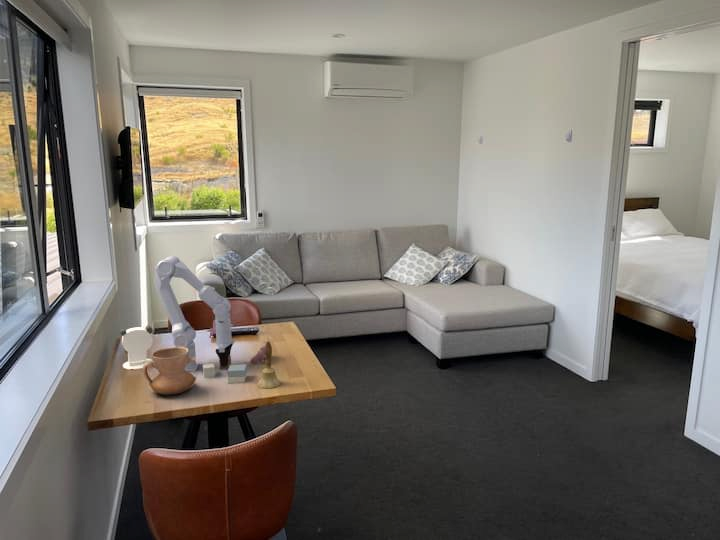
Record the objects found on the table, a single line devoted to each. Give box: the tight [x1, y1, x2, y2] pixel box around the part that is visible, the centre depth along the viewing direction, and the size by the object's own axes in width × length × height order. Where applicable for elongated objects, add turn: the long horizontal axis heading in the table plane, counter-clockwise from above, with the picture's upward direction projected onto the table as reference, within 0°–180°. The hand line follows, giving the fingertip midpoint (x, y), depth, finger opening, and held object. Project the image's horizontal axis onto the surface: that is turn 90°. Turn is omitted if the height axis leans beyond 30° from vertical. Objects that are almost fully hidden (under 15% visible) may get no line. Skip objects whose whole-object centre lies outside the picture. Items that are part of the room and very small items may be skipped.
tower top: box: [227, 363, 247, 377], centre depth 199 cm, size 6×6×2 cm
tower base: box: [227, 373, 247, 384], centre depth 199 cm, size 6×6×2 cm
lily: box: [206, 319, 234, 338], centre depth 246 cm, size 12×12×10 cm
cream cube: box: [202, 363, 216, 379], centre depth 203 cm, size 4×4×4 cm
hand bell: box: [257, 341, 282, 389], centre depth 193 cm, size 8×8×16 cm
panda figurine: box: [120, 325, 154, 370], centre depth 214 cm, size 12×11×15 cm
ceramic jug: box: [142, 346, 197, 396], centre depth 189 cm, size 18×14×14 cm
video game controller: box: [250, 345, 266, 365], centre depth 218 cm, size 10×5×7 cm, turn 169°
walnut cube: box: [218, 355, 232, 370], centre depth 211 cm, size 4×4×4 cm
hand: (225, 363), depth 211 cm, fingers open, 5 cm apart
